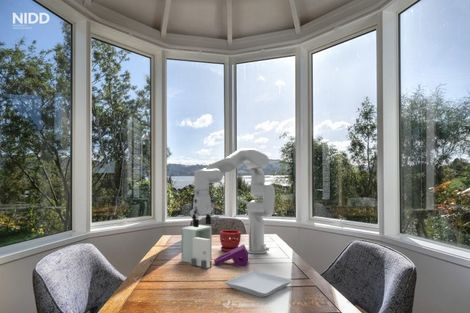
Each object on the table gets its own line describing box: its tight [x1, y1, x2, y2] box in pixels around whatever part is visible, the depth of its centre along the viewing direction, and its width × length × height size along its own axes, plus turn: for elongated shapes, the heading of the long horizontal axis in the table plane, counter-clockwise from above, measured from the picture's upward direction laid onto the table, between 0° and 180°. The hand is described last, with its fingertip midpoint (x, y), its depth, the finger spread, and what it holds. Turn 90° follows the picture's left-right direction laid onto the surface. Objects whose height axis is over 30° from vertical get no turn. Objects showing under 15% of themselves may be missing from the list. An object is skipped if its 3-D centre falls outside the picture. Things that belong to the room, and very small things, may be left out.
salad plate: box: [224, 270, 293, 298], centre depth 134 cm, size 21×21×3 cm
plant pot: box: [219, 229, 242, 253], centre depth 198 cm, size 13×13×12 cm
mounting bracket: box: [213, 243, 249, 268], centre depth 169 cm, size 10×8×18 cm
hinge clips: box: [190, 258, 213, 270], centre depth 164 cm, size 9×5×4 cm, turn 55°
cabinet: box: [180, 224, 213, 264], centre depth 177 cm, size 10×14×18 cm
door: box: [193, 237, 211, 269], centre depth 164 cm, size 10×3×14 cm, turn 54°
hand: (202, 225), depth 165 cm, fingers open, 9 cm apart
